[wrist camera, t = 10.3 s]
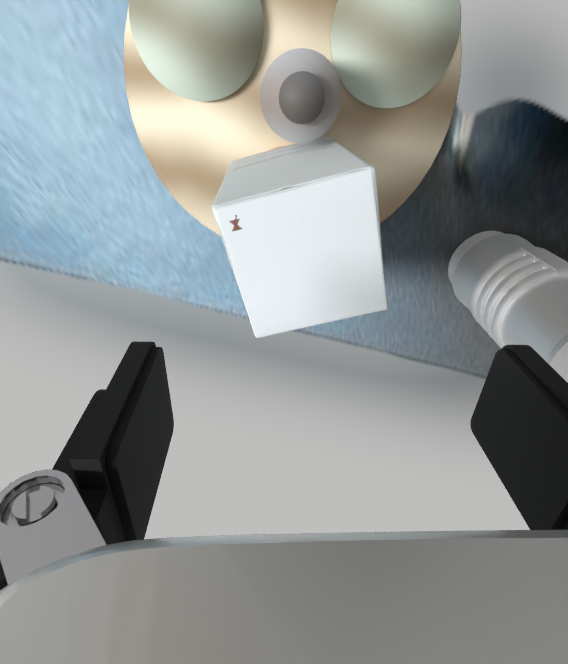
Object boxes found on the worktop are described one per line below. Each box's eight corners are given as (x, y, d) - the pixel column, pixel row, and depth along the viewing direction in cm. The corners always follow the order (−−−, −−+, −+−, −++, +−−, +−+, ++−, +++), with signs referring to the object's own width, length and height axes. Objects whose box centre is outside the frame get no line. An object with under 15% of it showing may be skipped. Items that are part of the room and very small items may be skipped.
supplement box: (255, 256, 32) (250, 343, 21) (229, 158, 28) (206, 202, 17) (347, 235, 31) (390, 314, 20) (333, 132, 27) (376, 161, 17)
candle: (535, 225, 33) (704, 312, 20) (506, 300, 37) (634, 414, 24) (454, 222, 33) (575, 308, 20) (433, 298, 36) (524, 413, 24)
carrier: (97, -151, 21) (18, -263, 15) (497, -124, 22) (598, -216, 16) (153, 246, 33) (123, 287, 26) (416, 251, 34) (454, 292, 27)
